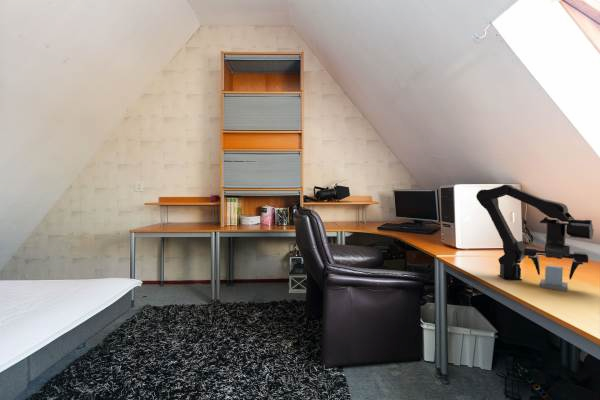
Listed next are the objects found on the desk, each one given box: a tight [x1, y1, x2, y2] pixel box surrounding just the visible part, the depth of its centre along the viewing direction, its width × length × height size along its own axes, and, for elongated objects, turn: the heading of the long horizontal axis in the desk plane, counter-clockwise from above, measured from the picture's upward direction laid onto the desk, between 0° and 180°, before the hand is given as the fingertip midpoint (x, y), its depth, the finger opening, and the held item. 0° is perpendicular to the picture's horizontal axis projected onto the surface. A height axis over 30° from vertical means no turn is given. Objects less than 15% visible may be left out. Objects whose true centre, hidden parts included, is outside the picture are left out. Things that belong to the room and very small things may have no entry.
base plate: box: [539, 278, 569, 292], centre depth 121 cm, size 8×8×4 cm
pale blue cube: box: [544, 264, 564, 286], centre depth 121 cm, size 5×5×6 cm
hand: (554, 277), depth 121 cm, fingers open, 9 cm apart
